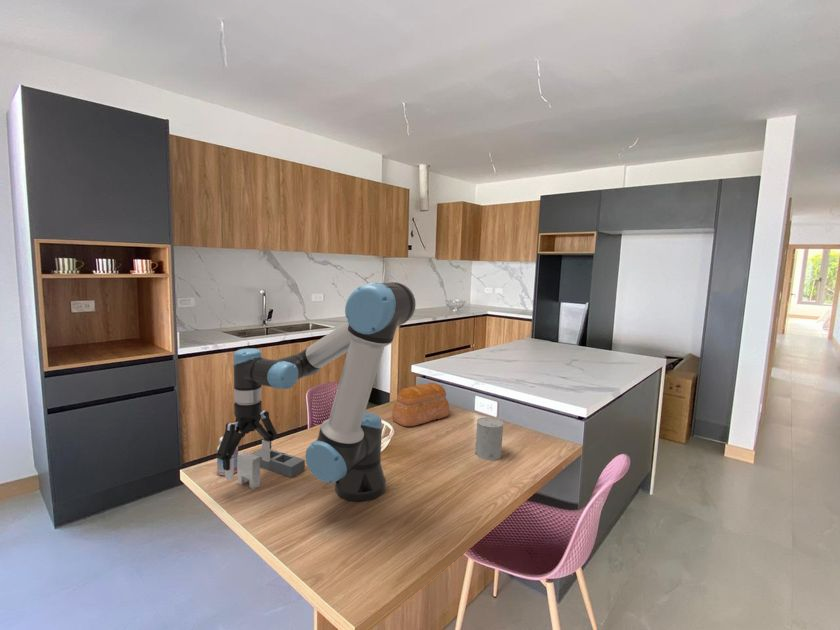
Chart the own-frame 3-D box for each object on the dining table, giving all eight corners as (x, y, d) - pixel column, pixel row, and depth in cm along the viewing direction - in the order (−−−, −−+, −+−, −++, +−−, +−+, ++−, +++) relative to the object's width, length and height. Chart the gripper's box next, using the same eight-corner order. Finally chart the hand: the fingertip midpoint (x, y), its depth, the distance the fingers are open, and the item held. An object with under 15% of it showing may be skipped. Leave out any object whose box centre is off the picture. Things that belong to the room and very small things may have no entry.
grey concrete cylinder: (472, 457, 152) (473, 424, 151) (478, 446, 161) (480, 415, 160) (498, 462, 149) (500, 429, 147) (503, 451, 158) (505, 420, 156)
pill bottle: (230, 477, 132) (230, 443, 130) (213, 474, 133) (212, 440, 131) (242, 468, 137) (242, 435, 136) (225, 466, 139) (225, 433, 137)
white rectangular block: (260, 485, 128) (260, 456, 127) (252, 489, 125) (252, 460, 124) (244, 479, 131) (244, 451, 130) (237, 483, 128) (236, 455, 127)
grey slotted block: (304, 469, 138) (304, 459, 138) (291, 477, 133) (291, 467, 132) (264, 456, 146) (264, 447, 146) (250, 463, 141) (250, 453, 140)
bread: (452, 417, 192) (454, 384, 190) (407, 430, 175) (408, 394, 173) (432, 408, 202) (434, 377, 200) (388, 420, 185) (389, 386, 183)
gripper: (270, 388, 138) (271, 450, 140) (201, 411, 115) (202, 484, 118) (288, 392, 134) (288, 456, 137) (220, 416, 112) (221, 491, 115)
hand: (248, 469), depth 127 cm, fingers open, 13 cm apart
